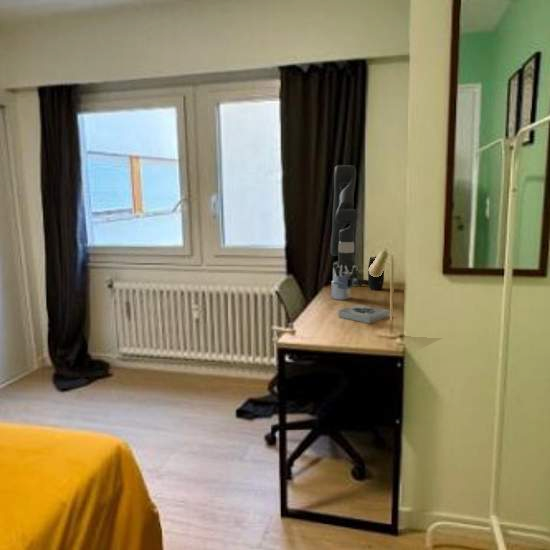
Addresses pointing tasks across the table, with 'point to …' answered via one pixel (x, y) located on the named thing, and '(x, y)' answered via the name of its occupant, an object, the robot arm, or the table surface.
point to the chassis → (363, 313)
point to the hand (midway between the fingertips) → (346, 285)
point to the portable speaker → (375, 278)
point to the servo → (344, 282)
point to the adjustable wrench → (361, 282)
